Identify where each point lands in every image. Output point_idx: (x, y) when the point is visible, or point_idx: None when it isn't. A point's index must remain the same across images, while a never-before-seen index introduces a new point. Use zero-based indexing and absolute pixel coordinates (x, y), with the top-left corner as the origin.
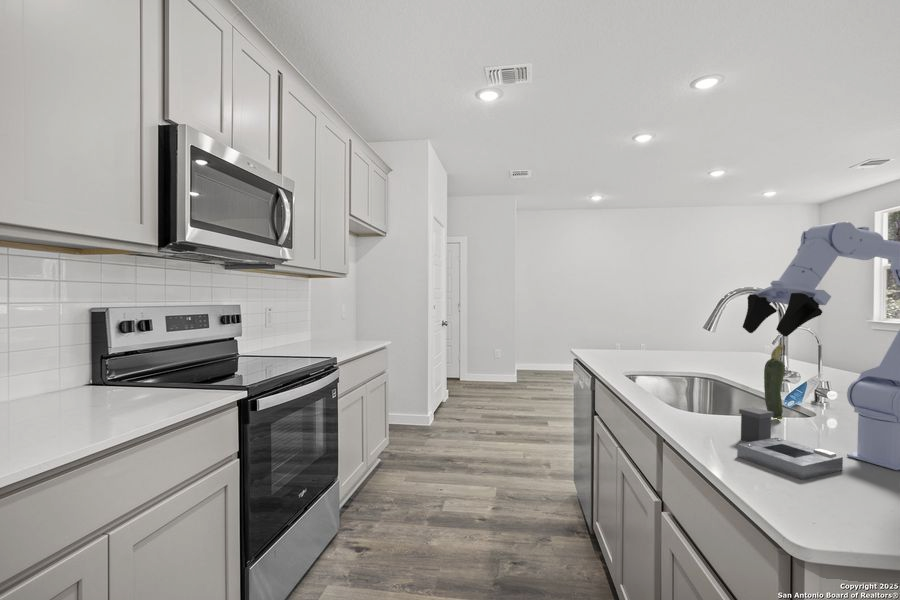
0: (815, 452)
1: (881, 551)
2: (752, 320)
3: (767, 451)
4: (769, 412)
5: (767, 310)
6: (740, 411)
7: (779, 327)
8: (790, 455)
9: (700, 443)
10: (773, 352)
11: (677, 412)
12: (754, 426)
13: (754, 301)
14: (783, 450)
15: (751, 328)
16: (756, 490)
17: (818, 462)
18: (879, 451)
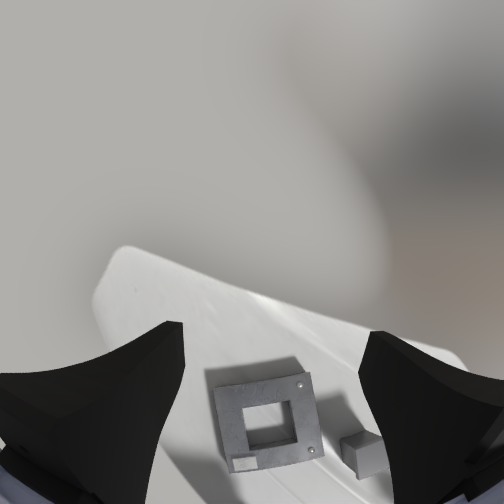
0: (253, 455)
1: (93, 296)
2: (388, 375)
3: (272, 391)
4: (359, 473)
5: (412, 482)
6: None
7: (166, 324)
8: (282, 441)
9: (361, 356)
10: None
11: None
12: (356, 442)
13: (471, 395)
14: (293, 440)
15: (367, 369)
16: (203, 300)
17: (219, 423)
18: None
